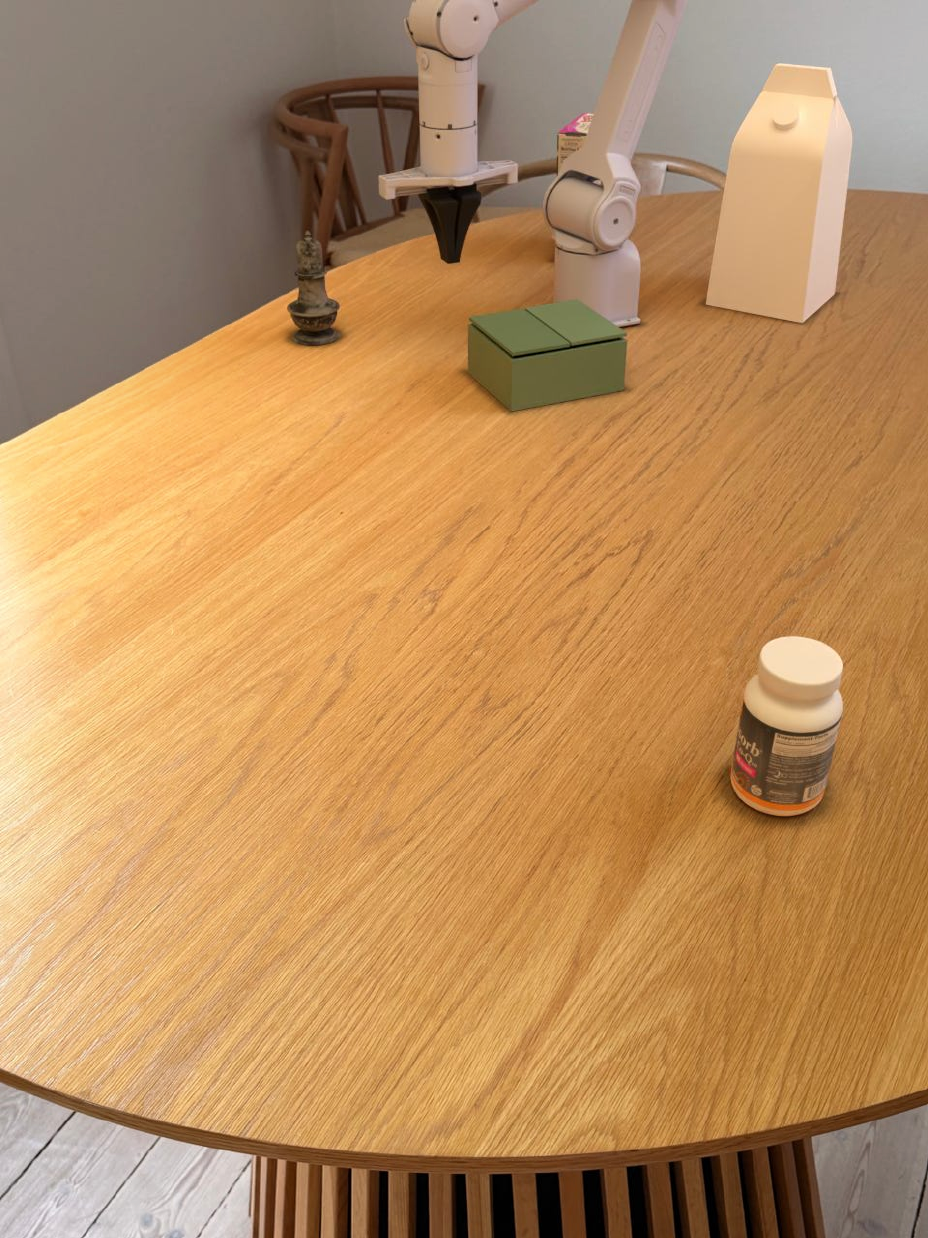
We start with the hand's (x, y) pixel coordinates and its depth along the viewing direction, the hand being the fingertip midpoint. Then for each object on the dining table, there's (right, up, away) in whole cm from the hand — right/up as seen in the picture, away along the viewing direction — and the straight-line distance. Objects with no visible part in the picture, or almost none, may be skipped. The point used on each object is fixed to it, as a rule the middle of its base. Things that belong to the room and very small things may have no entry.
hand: (450, 260), depth 127 cm
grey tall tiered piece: (-15, -6, +11) cm, 20 cm away
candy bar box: (+17, +12, +36) cm, 41 cm away
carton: (+10, -13, 0) cm, 16 cm away
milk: (+39, +1, +20) cm, 43 cm away
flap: (+7, -9, -5) cm, 12 cm away
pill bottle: (+21, -48, -52) cm, 74 cm away
